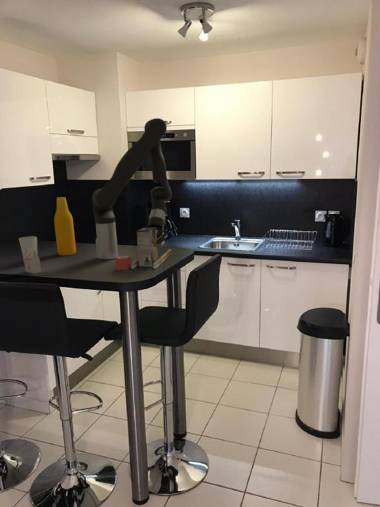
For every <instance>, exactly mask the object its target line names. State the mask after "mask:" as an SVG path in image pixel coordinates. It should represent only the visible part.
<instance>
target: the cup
mask: <svg viewBox="0 0 380 507" xmlns="http://www.w3.org/2000/svg"><path fill="white" fill-rule="evenodd" d="M18 240H19V241H18V242H19V246H20V250H21V254H22V258H23V260H24V256H25V253H26V249H31V250H35V252H36V254H37V255H38V237H37V236H34V235H33V236H32V235H31V236H23V237H19V238H18Z"/></svg>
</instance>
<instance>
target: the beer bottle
mask: <svg viewBox="0 0 380 507" xmlns="http://www.w3.org/2000/svg"><path fill="white" fill-rule="evenodd" d="M73 219H74V218H73V215H72V214H71V212H70V211H69V207H68V203H67V199H66V197H64V196H63V197H56V210H55V215H54V218H53V221H54V222H53V223H54V230H55V232H54V233H55V237H56V238H55V239H56V248H57V254H58V255H59V256H73V255H75V254H76V253H77V247H76V246H77V245H76V239H75V238H76V237H75V229H74V228H75V227H74V220H73Z"/></svg>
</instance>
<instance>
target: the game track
mask: <svg viewBox="0 0 380 507" xmlns="http://www.w3.org/2000/svg"><path fill="white" fill-rule="evenodd" d="M172 253H173V249H172V248H169V249H168V250H167V251H166V252H165V253H164V254H162V256H160V257H158V260H157V261H156V262H155V263H154V264H153V266H152V268H153V269H154V270H155V269H157V268H159V266H160V265H162V264H163V262H165V260H166V259H168V258H169V256H171V255H172ZM137 266H139V258H136V259H135V260H134V261H133V262H131V267H130V269H133V270H134V269H135V268H136V267H137Z"/></svg>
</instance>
